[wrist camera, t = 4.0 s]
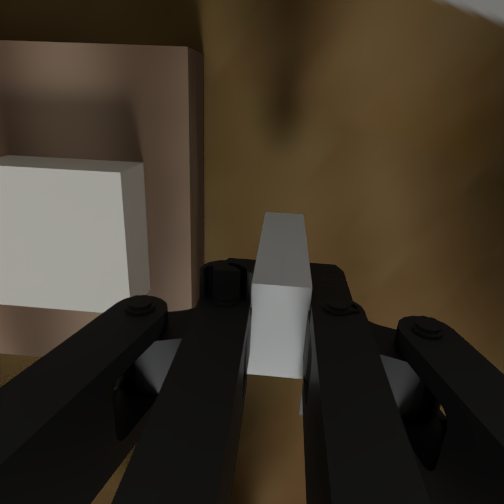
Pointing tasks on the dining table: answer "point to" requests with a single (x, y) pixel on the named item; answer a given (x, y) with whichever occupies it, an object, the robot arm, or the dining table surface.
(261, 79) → the dining table surface
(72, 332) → the walnut plate
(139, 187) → the cream tile
